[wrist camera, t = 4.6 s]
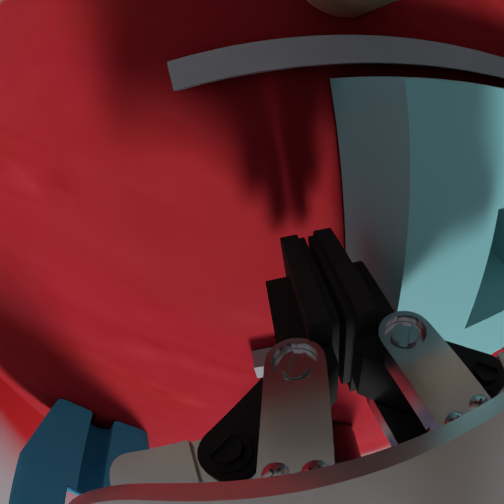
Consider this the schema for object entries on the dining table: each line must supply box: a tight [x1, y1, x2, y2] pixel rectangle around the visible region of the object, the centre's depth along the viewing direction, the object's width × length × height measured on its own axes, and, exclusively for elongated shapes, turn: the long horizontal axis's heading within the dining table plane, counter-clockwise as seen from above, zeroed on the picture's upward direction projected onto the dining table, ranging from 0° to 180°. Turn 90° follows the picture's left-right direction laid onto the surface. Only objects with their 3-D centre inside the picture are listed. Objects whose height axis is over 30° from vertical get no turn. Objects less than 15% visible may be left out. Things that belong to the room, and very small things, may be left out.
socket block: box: [330, 76, 504, 354], centre depth 9 cm, size 12×12×5 cm
